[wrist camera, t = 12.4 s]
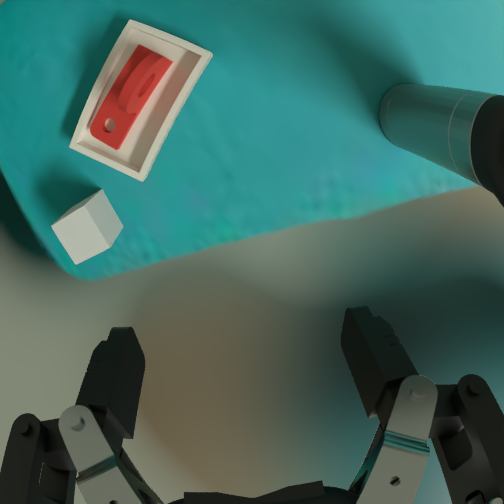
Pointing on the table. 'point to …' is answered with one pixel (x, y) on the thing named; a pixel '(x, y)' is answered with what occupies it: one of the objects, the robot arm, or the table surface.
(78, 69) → the table surface
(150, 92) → the bracket
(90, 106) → the holder tray
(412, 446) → the robot arm
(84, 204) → the white cube
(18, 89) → the table surface
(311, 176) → the table surface
